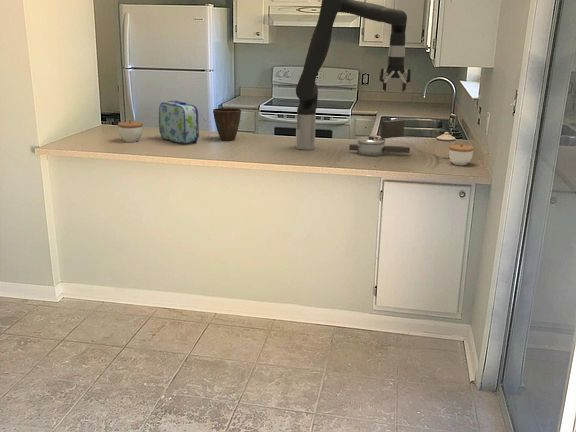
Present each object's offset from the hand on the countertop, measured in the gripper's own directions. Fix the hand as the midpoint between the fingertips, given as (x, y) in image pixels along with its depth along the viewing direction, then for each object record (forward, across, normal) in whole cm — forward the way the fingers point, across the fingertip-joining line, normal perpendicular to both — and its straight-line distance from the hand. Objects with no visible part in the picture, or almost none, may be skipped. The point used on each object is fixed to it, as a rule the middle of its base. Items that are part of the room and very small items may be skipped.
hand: (393, 91), depth 279 cm
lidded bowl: (+30, -132, +19) cm, 137 cm away
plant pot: (+30, -82, +28) cm, 92 cm away
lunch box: (+30, -107, +21) cm, 113 cm away
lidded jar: (+30, +29, -20) cm, 46 cm away
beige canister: (+30, +26, -3) cm, 40 cm away
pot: (+30, -6, -1) cm, 30 cm away
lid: (+24, -4, +2) cm, 24 cm away
